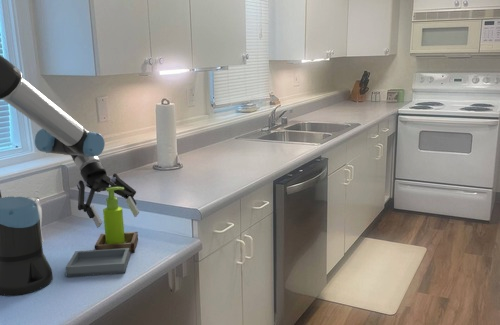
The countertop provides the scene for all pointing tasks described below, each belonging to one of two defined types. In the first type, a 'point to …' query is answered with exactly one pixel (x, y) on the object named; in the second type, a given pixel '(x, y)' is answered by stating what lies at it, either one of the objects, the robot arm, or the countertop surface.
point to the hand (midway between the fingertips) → (119, 219)
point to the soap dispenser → (113, 219)
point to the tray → (98, 262)
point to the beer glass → (37, 201)
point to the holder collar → (128, 237)
